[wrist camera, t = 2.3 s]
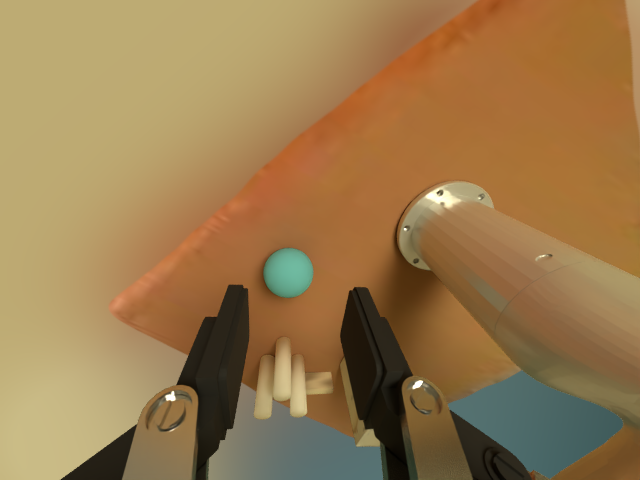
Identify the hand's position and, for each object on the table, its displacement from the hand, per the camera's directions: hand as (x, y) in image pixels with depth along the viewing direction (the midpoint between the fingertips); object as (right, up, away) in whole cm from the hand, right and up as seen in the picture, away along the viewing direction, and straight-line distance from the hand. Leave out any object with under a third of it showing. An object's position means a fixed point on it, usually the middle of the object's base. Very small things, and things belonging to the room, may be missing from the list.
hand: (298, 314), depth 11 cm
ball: (-3, -1, +19) cm, 19 cm away
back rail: (-3, -21, +33) cm, 40 cm away
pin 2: (-3, -17, +31) cm, 36 cm away
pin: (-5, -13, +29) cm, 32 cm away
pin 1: (-8, -17, +30) cm, 36 cm away
